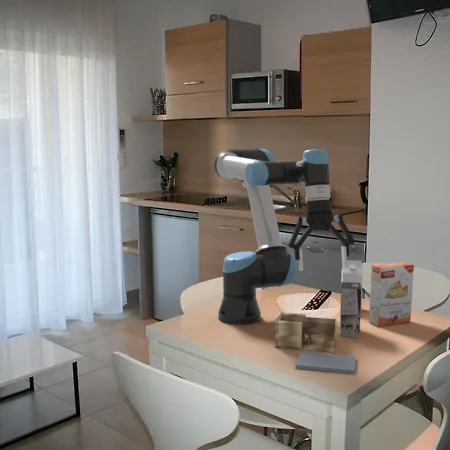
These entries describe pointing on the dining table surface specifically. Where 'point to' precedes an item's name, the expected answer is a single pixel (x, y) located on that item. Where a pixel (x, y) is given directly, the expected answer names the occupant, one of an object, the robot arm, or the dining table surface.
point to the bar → (315, 325)
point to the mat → (326, 362)
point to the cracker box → (391, 293)
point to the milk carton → (353, 273)
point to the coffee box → (350, 309)
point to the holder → (299, 336)
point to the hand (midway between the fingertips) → (323, 269)
